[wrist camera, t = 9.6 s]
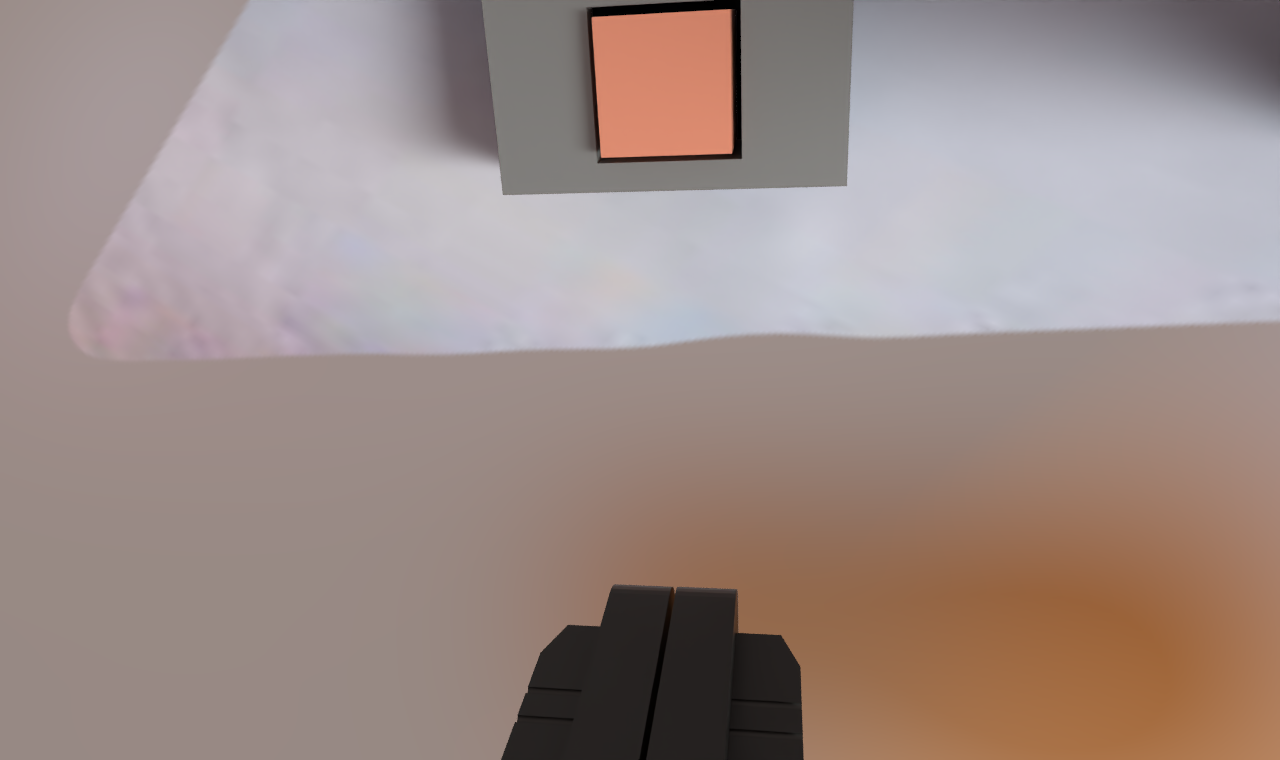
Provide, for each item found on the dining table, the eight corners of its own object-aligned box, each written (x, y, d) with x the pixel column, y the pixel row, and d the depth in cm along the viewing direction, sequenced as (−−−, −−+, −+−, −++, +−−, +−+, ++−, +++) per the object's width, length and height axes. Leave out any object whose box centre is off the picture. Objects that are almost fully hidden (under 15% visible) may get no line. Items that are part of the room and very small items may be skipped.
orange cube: (736, 9, 32) (729, 9, 28) (737, 135, 33) (731, 153, 29) (615, 16, 32) (591, 17, 28) (622, 139, 34) (600, 157, 30)
